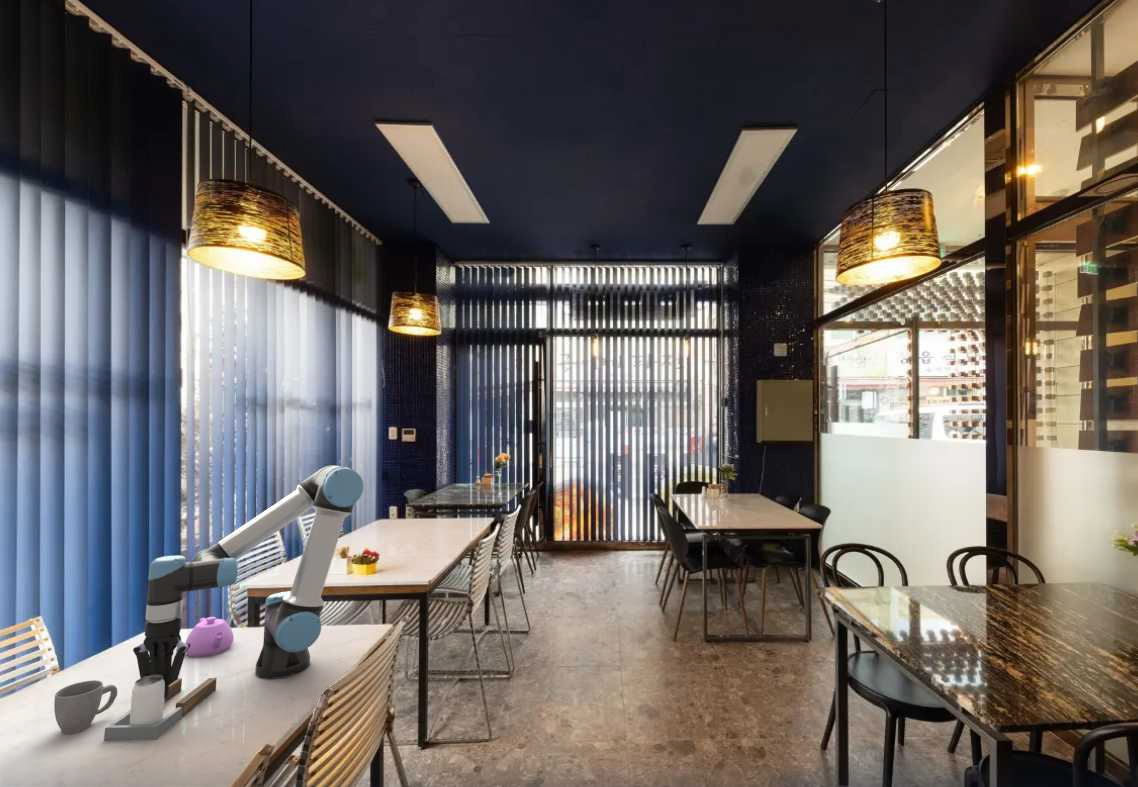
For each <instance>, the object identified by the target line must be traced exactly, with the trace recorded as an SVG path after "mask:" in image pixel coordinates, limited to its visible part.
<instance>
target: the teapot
mask: <svg viewBox="0 0 1138 787" xmlns="http://www.w3.org/2000/svg"><path fill="white" fill-rule="evenodd" d="M184 643H185V644H187V643H189V644H190V647H189V649H188V650H187V651H186V653H185V654H187V655H188V656H189V657H194V658H203V657H210V656H213V655H218V654H220V653H222V652H225V651H227V650H228V649H229V648H230V647H231V645H233V643H234V632H233V631H232V628H231V626H230V625H229V623H228V622H227V621H226V620H225V619H221V618H217V617H216V616H209V617H201V618H200V619H199V621H198V623H197V624H195V626H194V627H193V628H192V630H191V631H190V633H189V634H188V636H187V638H186V640H185V642H184Z"/></svg>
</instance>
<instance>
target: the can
mask: <svg viewBox="0 0 1138 787" xmlns="http://www.w3.org/2000/svg"><path fill="white" fill-rule="evenodd" d="M164 691H165V681H164V680H163V676H162V675H150V676H146V677H143V678H141V679H140V678H139V679H136V681H134V686H133V687H132V689H131V698H130V700H131V701H130V710H131V711H130V710H129V711H130V725H151V724H157V723H158V722H160V721H161V720H162V719H164V710H163V707H164ZM164 708H165V707H164Z"/></svg>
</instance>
